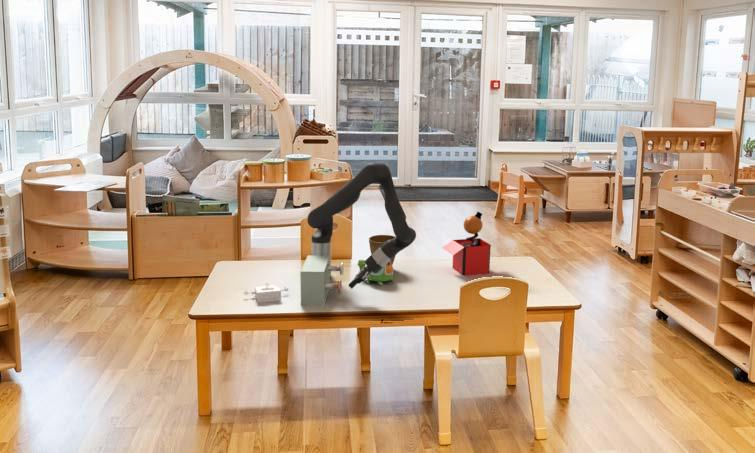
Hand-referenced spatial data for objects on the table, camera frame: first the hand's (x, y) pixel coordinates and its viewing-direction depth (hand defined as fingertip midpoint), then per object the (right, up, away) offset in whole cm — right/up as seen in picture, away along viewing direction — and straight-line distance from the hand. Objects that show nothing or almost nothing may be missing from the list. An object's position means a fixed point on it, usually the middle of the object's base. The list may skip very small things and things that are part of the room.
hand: (350, 286), depth 334 cm
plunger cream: (-10, +5, +12) cm, 16 cm away
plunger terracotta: (-11, -2, +1) cm, 11 cm away
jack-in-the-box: (+58, +4, +49) cm, 76 cm away
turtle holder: (+11, 0, +30) cm, 32 cm away
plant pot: (+15, +5, +49) cm, 51 cm away
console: (-15, -5, +8) cm, 18 cm away
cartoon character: (-38, -5, +7) cm, 38 cm away
